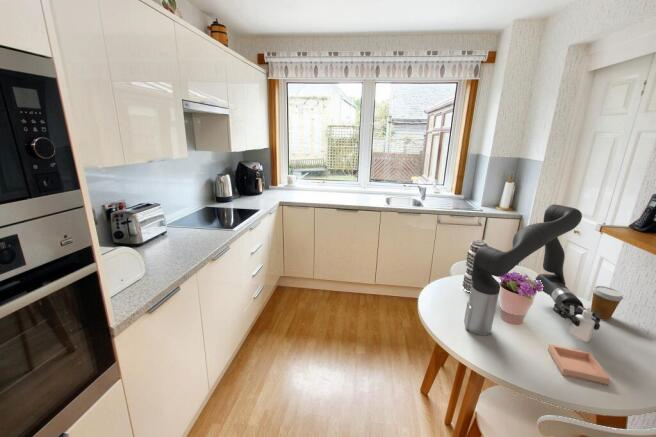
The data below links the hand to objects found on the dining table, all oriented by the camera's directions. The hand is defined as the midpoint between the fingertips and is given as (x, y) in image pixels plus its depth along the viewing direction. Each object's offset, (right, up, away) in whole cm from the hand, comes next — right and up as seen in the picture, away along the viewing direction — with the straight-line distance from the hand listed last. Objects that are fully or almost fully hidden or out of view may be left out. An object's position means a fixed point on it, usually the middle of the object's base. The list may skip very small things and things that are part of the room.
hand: (587, 325), depth 101 cm
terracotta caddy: (-8, -12, -4) cm, 15 cm away
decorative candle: (-19, +2, +43) cm, 47 cm away
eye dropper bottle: (+1, -6, +4) cm, 7 cm away
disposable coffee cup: (+27, -5, +25) cm, 37 cm away
